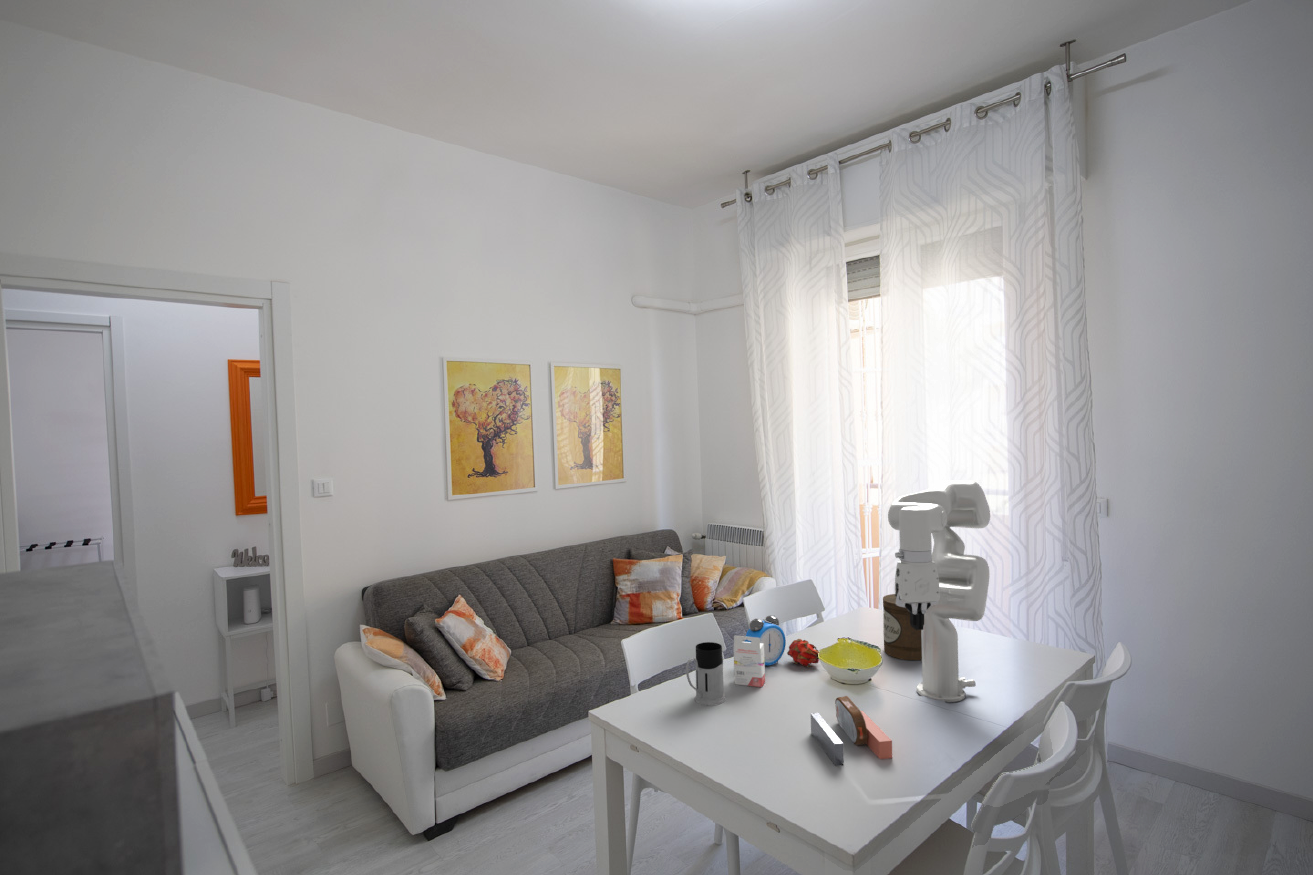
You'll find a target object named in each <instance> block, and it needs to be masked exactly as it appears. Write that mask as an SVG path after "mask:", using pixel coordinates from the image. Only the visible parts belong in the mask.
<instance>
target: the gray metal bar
mask: <svg viewBox="0 0 1313 875" xmlns="http://www.w3.org/2000/svg"><path fill="white" fill-rule="evenodd" d="M810 734H811V735H812V737H813V738H814V739H815V741H816V742H817V744H818V745H819V746H820V748H821V749H822V750H823V751H824V753H825V754H826V755H827V757H828V758H829V760H830V761H831V762H832V764H833V765H834V766H835V767H840V766H844V764H843V763H845V762H844V753H845V752H844V742H843V741H842V740H841V739H840V737H839V736H838V735H837V734H836V733H835V731H834V730H833V729H832V727H831V726H830V725H829V724H828V723H827V722H826V720H825V719H824V718H823V716H821V714H820V713H819V712H813V713H812V712H811V713H810Z"/></svg>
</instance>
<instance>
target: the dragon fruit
mask: <svg viewBox="0 0 1313 875" xmlns="http://www.w3.org/2000/svg"><path fill="white" fill-rule="evenodd" d="M818 653H820V652H819V650H818V649H817V647H816V646H815V645H814V644H812V643H810V642H809V641H808V640H806V639H804V640H803V639H802V638H798V639H794V640H793V641H792V642H791V643H790V645H789V646H788V651H787V653H786V654H787V656H790V657H791V658H792V660H793V662H794V664H795V665H797V664H798V663H799V664H800V665H802V667H803V666H804V667H805V668H813V665H811V664H819V661H820V659H819V658H818Z"/></svg>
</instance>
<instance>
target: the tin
mask: <svg viewBox="0 0 1313 875" xmlns="http://www.w3.org/2000/svg"><path fill="white" fill-rule="evenodd" d="M834 700H835V701H834V702H835V703H834V704H835V714H836V715H835V716H836V721H837V722H838V726H840V727H841V728H842V730H843V731H844V733H845V734H846V735H847V736H848V738H849V739H850V740H851V741H852V742H853V744H854V745H855V746H861V745H867V744H866V743H867V738H868V736H867V728H866V723H865V720H864V717H863V715H862V713H861V711H862V710H860V708H859V707H858V706H857V705H856V704H855V703H854V701H852V699H851V698H850V697H849V696H848V695H844V696H839V697H837V698H836V699H834Z"/></svg>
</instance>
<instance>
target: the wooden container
mask: <svg viewBox="0 0 1313 875" xmlns="http://www.w3.org/2000/svg"><path fill="white" fill-rule="evenodd" d="M895 603H896V597H895V593H892V594H887V595H884V596H883V597H882V608H883V615H882V616H883V621H882V622H883V625H882V626H883V627H882V628H883V650H884V653H885V654H886V655H888V656H890V657H892V658H894V659H895V658H896V659H898V660H899V659H900V660H905V661H906V660H908V661H919V660H920V661H922V639H921V630H920V629H919V630H916V629H914V628H912V627H911V625H910V612H909V611H908V610H907V609H906V608H905V607H900V606H897V605H896V604H895ZM916 607H917V603H916Z"/></svg>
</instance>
